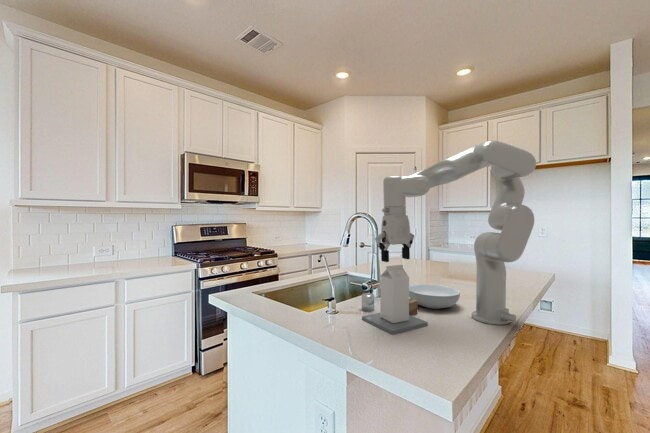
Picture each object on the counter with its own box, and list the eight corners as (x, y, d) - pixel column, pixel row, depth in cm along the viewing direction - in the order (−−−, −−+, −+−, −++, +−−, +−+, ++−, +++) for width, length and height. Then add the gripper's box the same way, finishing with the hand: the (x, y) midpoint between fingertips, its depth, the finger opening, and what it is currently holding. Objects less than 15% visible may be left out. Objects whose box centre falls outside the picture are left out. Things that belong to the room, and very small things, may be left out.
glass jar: (376, 310, 124) (377, 295, 124) (366, 312, 122) (366, 297, 122) (369, 307, 128) (369, 292, 128) (359, 309, 126) (359, 294, 126)
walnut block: (417, 313, 121) (417, 300, 121) (410, 316, 118) (410, 303, 117) (405, 310, 125) (406, 297, 125) (399, 313, 121) (399, 300, 121)
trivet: (427, 325, 108) (427, 322, 108) (392, 334, 100) (392, 330, 100) (395, 312, 122) (395, 309, 122) (362, 319, 114) (362, 316, 114)
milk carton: (380, 317, 112) (380, 264, 112) (396, 314, 116) (396, 263, 115) (392, 323, 106) (392, 267, 106) (409, 320, 109) (409, 266, 109)
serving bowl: (465, 315, 119) (465, 297, 118) (408, 311, 123) (408, 294, 123) (454, 300, 139) (454, 284, 139) (405, 297, 143) (405, 282, 143)
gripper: (382, 212, 102) (383, 264, 103) (420, 210, 111) (421, 259, 111) (368, 212, 109) (369, 261, 109) (405, 211, 118) (406, 256, 118)
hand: (395, 260), depth 110 cm, fingers open, 9 cm apart
